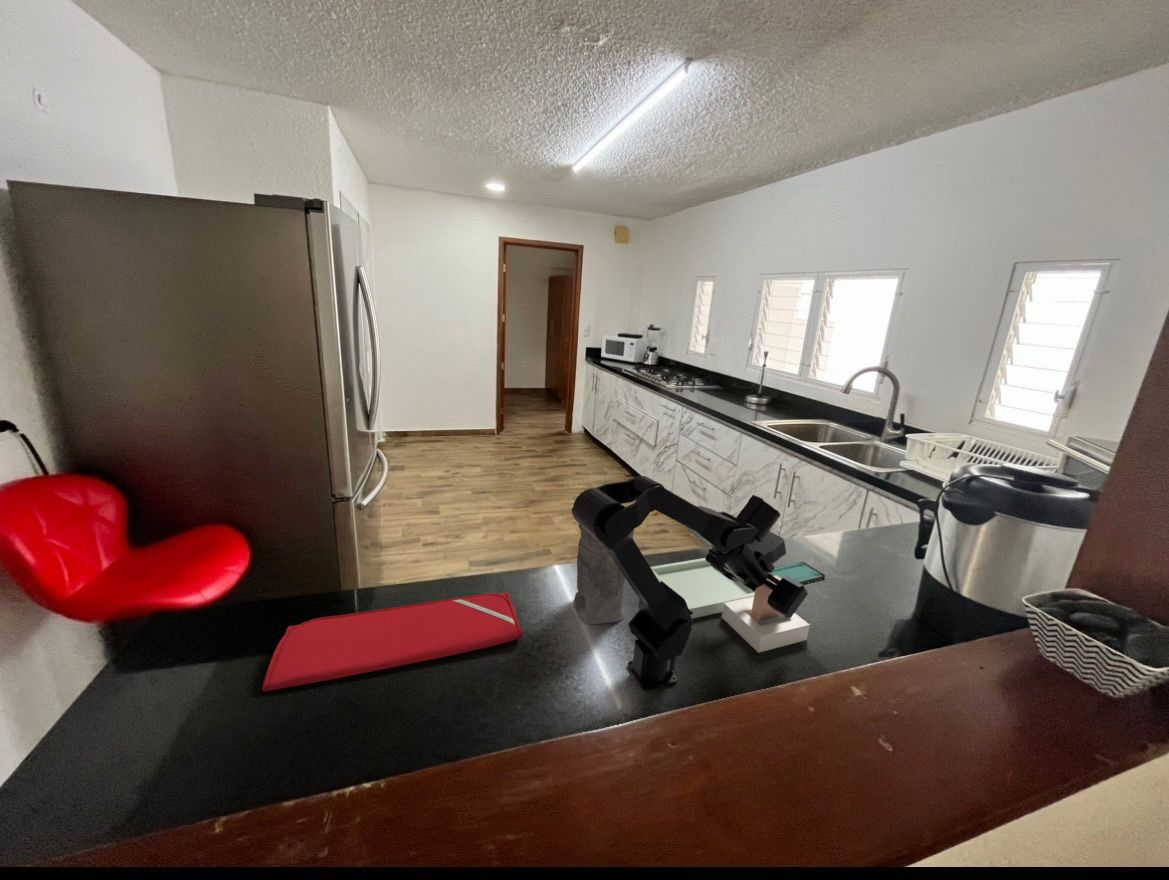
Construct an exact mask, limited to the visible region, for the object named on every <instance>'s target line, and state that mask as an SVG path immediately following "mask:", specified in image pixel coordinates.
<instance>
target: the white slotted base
mask: <svg viewBox="0 0 1169 880" xmlns="http://www.w3.org/2000/svg"><path fill="white" fill-rule="evenodd" d="M753 600H754V597H749V598H745V599H740V600H735V601H730V602H726V603H724V606H723V612H721V618H722V619H723V620H724V621H725V622H726V623H727V624H728V625H729V626H730V627H731V628H732V629H733V630H734V631H735V632H736V633H737V634H738V635H740V637H741V638H742V639H743V640H744V641H746V643H748V644H749V645H750V646H751V647H752V648H753V649H754V650H755V651H756V652H757V653H762V652H766V651H770V650H775V649H777V648H781V647H782V648H783V647H787V646H789V645H792V644H796V643H801V642H804V641H807V640H808V634H809V631H810V625H811V624H810V623H809V622H807V621H806V620H804V619H803V618H802V617H801V616H799V615H798V614H797V613H796V612H795V613H794V614H793V615H792V617H789V618H786V617H785V616H783V615H782V614H780V615H777V616H773V617H768V618H764V619H760V620H758V623H757V622H756V621H755V620H754V619H753V618H751V612H752V606H753Z"/></svg>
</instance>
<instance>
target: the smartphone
mask: <svg viewBox="0 0 1169 880" xmlns="http://www.w3.org/2000/svg"><path fill="white" fill-rule="evenodd" d="M768 574H770V575H772V576H776V575H777V576H778V577H780V578H781V579H782V578H783V577H785V576H788V577H790V578H792V579H793V580H795V581H797V582H799V583H800V584H802V583H803V584H802V585H806V584H805V583H807V584H809V583H808V582H810V583H812V582H811V581H815V580H819V581H821V580H823V579H822V578H826V574H824V573H823V572H822V571H820V570H818V569H816V568H814V567H813V566H811V565H809V564H808V563H806V562H804V561H800V562H795V563H791V564H787V565H782V566H778V567H775V569H774V570H773V571H772V573H770V572H768ZM820 579H821V580H820ZM815 582H816V581H815Z"/></svg>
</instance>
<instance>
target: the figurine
mask: <svg viewBox="0 0 1169 880" xmlns="http://www.w3.org/2000/svg"><path fill="white" fill-rule="evenodd" d="M622 505H623V506H625V505H624V503H623V504H622ZM577 526H578V528H579V531H580V538H579V539H578V544H577V545H578V547H577V548H578V549H577V550H578V552H577V556H576V573H577V574H576V590H577V592H575V596H574V599H573V607H574V609H575V610H576V611H575V612H576V614H577V616H578V619H579V620H580V621H582V622H584V623H587V624H589V625H600V624H602V625H603V624H608V623H616V622H617V623H618V622H620V621H621V620H623V619H625V612H624V609H623V601H624V590H625V582H626V578H625V577H624V575H623V574H622V572H621V571H620V569H619V568H618V566H617V565H616V563H615V562H614V560H613V559H612V557H611V556H610V554H609V553H608V551H607V550H606V548H605V547H604V546H603V545H602V544H601V543H600V542H599V541H598V540H597V539H596V538H594V537H593V536H592V535H591V534H590V533H589V532H588V531H587V530H586V529H585V528H583V527H582V526H581V525H580V524H579V523H578V525H577Z"/></svg>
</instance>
